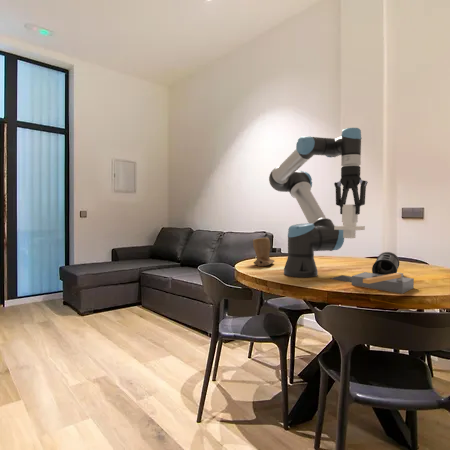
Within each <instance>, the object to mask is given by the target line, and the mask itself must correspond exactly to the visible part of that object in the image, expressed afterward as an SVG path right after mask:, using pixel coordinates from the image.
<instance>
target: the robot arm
mask: <svg viewBox="0 0 450 450" xmlns="http://www.w3.org/2000/svg"><path fill="white" fill-rule="evenodd" d="M295 144H296V147H295V148H296V149H295V150H294V151H293V152H292V153H291V154H290V155H289V156H288V157H287V158H286V159H285V160H284V161H283V162H281V164H280V165H279V166H276V167H275V168H273V169H272V170H271V172H270V174H269V177H268V181H269V185H270V186H271V187H272V189H274V190H275V191H278V192H280V193H281V192H285V193H286V192H287V193H289V194H290V195H291V197H292V198H294V199H296V202H297V203H298V205H299V208H300V209H301V211H302V213H303V214H304V216H305V219H306V220H307V222H306V223H298V224H297V223H296V224H293V225H290V226H289V227H288V232H287V259H286V261H285V265H284V268H283V274H284V275H285V276H289V277H295V278H313V277H317V276H318V275H319V274H318V273H319V271H318V268H317V264H316V262H315V256H314V253H315V252H333V251H338V250H340V249H341V248H342V247H343V245H344V241H345V238H343V230H334V226H335V224H334V222H333V221H332V219H331V218H327V217H326V215H325V214H324V212H323V209H322V207H321V206H320V205H319V203H318V201H317V200H316V198H315V196H314V195H313V193H312V191H311V190H312V187H313V179H312V178H313V177H312V175H310V173H309V172H308V171H302V170H298V169H300V168H301V167H302V166H303V165H305V164H306V163H307V162H308V161H309V160H310V159H311V158H312V157H314V156H325V157H327V158H336V157H338V156H339V157H340V156H341V165H340V166H341V168H340V176H341V177H340V180H339V181H337V182H334V183H333V184H334V187H335V206H338V207H339V212H340V213H339V214H340V215H341V222H342V223H343V205H347V199H348V193H349V191H350V190H351V192H352V195H353V201H354V204H353V205H354V206H355V207H353V223H356V224H357V223H358V219H359V218H358V217H359V216H358V215H360V213H361V207H362V206H365V204H366V189H367V185H368V180H363V179H362V178H361V165H362V164H361V163H362V161H361V157H362V156H361V155H362V130H361V129H360V128H359V127H347V128H345V129H342V131H341V135H340V136H339V137H337V138H332V137H330V138H329V137H317V136H307V135H306V136H301V137H299V138H298V139H297V142H296V143H295ZM359 185H360V188H358V187H359ZM341 186H342V188H341Z"/></svg>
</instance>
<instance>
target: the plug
mask: <svg viewBox="0 0 450 450" xmlns="http://www.w3.org/2000/svg"><path fill="white" fill-rule="evenodd" d="M354 205H355V204H345V205H343V222H342V225H334V230H343V238H344V239H356V233H357V232H356V231H365V229H366V228H365V227H366V226H365V225H357V223H353V207H355V206H354Z"/></svg>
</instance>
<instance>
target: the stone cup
mask: <svg viewBox="0 0 450 450" xmlns="http://www.w3.org/2000/svg"><path fill="white" fill-rule="evenodd" d="M252 247H253V250H254V253H255V255H256V259H255V261H253V262H252V264H254V265H256V266H258V267H267V266H269V265H272V264H273V263H274V262H275V260H274V259H272V258H270V254H271V253H270V252H271V239H270V238H269V237H259V238H258V237H257V238H253V239H252Z"/></svg>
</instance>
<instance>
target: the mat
mask: <svg viewBox="0 0 450 450" xmlns="http://www.w3.org/2000/svg"><path fill="white" fill-rule="evenodd" d="M330 280H332V281H333V280H335V281H340V282H346V283H352V276H350V275H343V274H341V275H338V276H335V277H332V278H331V277H330Z"/></svg>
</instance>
